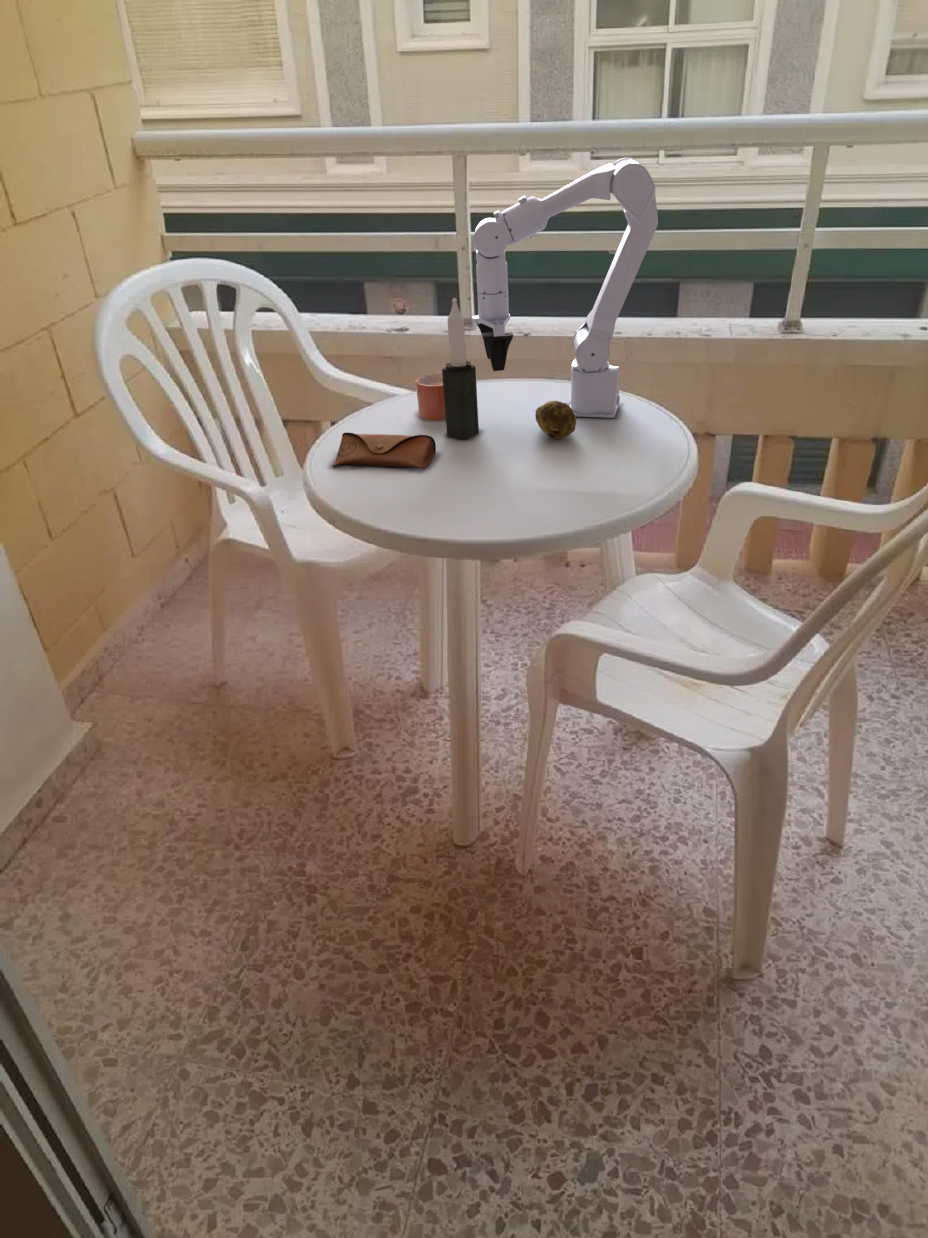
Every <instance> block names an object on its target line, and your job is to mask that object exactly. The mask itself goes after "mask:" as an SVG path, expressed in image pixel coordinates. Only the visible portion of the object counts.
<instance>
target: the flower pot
mask: <svg viewBox="0 0 928 1238" xmlns="http://www.w3.org/2000/svg"><path fill="white" fill-rule="evenodd" d="M415 386H416V387H415V388H416V398H417V399H416V400H417V409H418V410H417V411H418V417H420V418H421V419H423V420H426V421H427V420H428V421H444V420H446V418H445V404H444V391H443V378H442V372H434V373H433V372H431V373H427V374H424V375H420V376H419V377H417V378H416V380H415Z"/></svg>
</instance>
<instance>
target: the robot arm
mask: <svg viewBox="0 0 928 1238" xmlns="http://www.w3.org/2000/svg"><path fill="white" fill-rule="evenodd" d="M611 194H612V195H613V196H614V197H615V199H616V200H617V201H618V203H619V204H620V205H621V209H622V211H623V215H624V217H625V219H626V220H627V226H626V228H625V231H624V233H623V235H622V238H621V240H620V243H619V245H618V247H617V250H616V252H615V254H614V257H613V260H612V262H611V264H610V267H609V269H608V271H607V273H606V276H605V278H604V280H603V283H602V285H601V288H600V291H599V293H598V295H597V298H596V300H595V302H594V305H593V307H592V309H591V310H590V312H588V314H587V316H586V317H585V320H584V323H582V325H581V326H579V328H577V330H576V331H575V332H574V334H573V337H572V346H573V349H574V352H575V357H574V360H573V361H572V362H571V373H570V375H571V376H570V378H571V379H570V404H569V406H570V407H571V408H572V410H573V412H574V414H575V416H576V417H580V418H581V417H583V418H606V419H614V418H615V417H616V414H617V411H618V409H619V406H620V400H621V396H620V388H621V387H620V386H621V385H620V383H621V367H620V366H615V365H614V366H613V365H612V364H611V365H610V362H609V359H610V354H611V352H610V351H611V350H610V349H611V348H610V344H611V342H612V339H613V338H614V331H615V327H616V322H617V320H618V318H619V315H620V314H621V311H622V308H623V306H624V304H625V301H626V299H627V297H628V294H629V293H630V290H631V287H632V286H633V283H634V281H635V278H636V276H637V275H638V272H639V269H640V267H641V265H642V262H643V261H644V258H645V256H646V253H647V251H648V250H649V247H650V244H651V242H652V240H653V237H654V236H655V233H656V231H657V229H658V225H659V216H658V214H659V213H658V207H657V206H658V205H657V198H656V197H657V196H656V184H655V182H654V180H653V178H652V176H651V174H650V172H649V171H648V169H647V168H646V167H645V165H643V164H641V163H640V162H639V161H638V160H637V159H635V158H633V157H622V158H620V159H617V160H616V161H615V162H614V163H608V164H605V165H602V166H600V167H598V168H595V169H593V170H592V171H590V172H588V173H587V174H584V175H583V176H581V177H580V178H577V179H575V180H574V181H572V182H571V183H569V184H567V185H565V186H563V187H561V188H560V189H558V190H556V191H555V192H553V193H551V194H549V195H548V196H546V197H544V198H539V197H536V196H534V195H531V196H530V197H527V196H526V195H523V196H521V197H518V203H516V204H514V205H512V206H510V207H508V208H506V209H504V210H503V211H501V212H500V210H497V211H495V212H493V216H494V217H486V218H484V219H482V220H481V221H480V222H479V223H478V224H477V226H476V227H475V230H474V237H473V242H474V246H475V250H476V253H475V261H476V265H475V274H476V289H477V290H476V292H477V294H476V295H477V309H478V311H477V315H472V317H471V319H472V322H473V323H476V326H477V327H478V329H479V331H480V334H481V337H482V340H483V345H484V350H485V355H486V358H487V359H488V360H489V361H490V365H491V369H492V371H493V372H500V371H501V372H502V371H505V368H506V364H507V363H506V362H507V356H508V352H509V349H510V348H509V347H510V346H511V345H510V344H511V342H512V341H513V338H514V333H513V332H512V331H511V332H510V331H509V332H506V325H507V324H508V323H509V321H510V320H511V314H510V307H509V275H508V272H509V271H508V263H507V261H506V260H507V259H506V249H507V247H508V246H514V245H516V244H518V243H520V242H522V241H524V240H525V239H528V238H530V237H532V236H533V235H536V234H538V233H539V232H541V231H544V230H545V229H546V228H547V224H548V221H549V219H551V218H552V217H554V216H556V215H558V214H561V213H563V212H565V211H567V210H569V209H572V208H573V207H576V206H578V205H580V204H582V203H584V202H587V201H588V200H590V199H598V200H603V201H611Z"/></svg>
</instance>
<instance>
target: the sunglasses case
mask: <svg viewBox="0 0 928 1238" xmlns="http://www.w3.org/2000/svg"><path fill="white" fill-rule="evenodd" d="M436 453H437V445H436V441H435V438H434V437H433V436H431V435H428V434H415V435H405V434H404V435H403V434H385V433H384V434H383V433H382V434H381V433H379V434H378V433H355V432H343V433H342V435H341V440H340V444H339V447H338V451H337V454H336V458H335V460H334V462H333V464H332V467H359V468H360V467H361V468H378V469H380V468H381V469H398V470H401V469H402V470H405V469H406V470H410V469H425V468H428V466H429V465H430V464H431V463H432V461H433V460H434V459H435V457H436Z"/></svg>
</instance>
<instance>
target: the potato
mask: <svg viewBox="0 0 928 1238" xmlns="http://www.w3.org/2000/svg"><path fill="white" fill-rule="evenodd" d="M535 421H536V423H537V425H538V427H539V429H540V430H541V431H542V432H543V433H544V434H546V435H547V437H548V438H549V439H557V440H558V439H559V440H563V439H566V438H567V437H569V436H570V435H571V434H573V433H574V432H575V430H576V427H577V416H575V414H574V412H573V410H572V408H571V407H570V404H568V403H567V402H562V401H558V400H549V401H546V402H545V403H544V404H542V405H540V406H538V407H537V408H536V410H535Z"/></svg>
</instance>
